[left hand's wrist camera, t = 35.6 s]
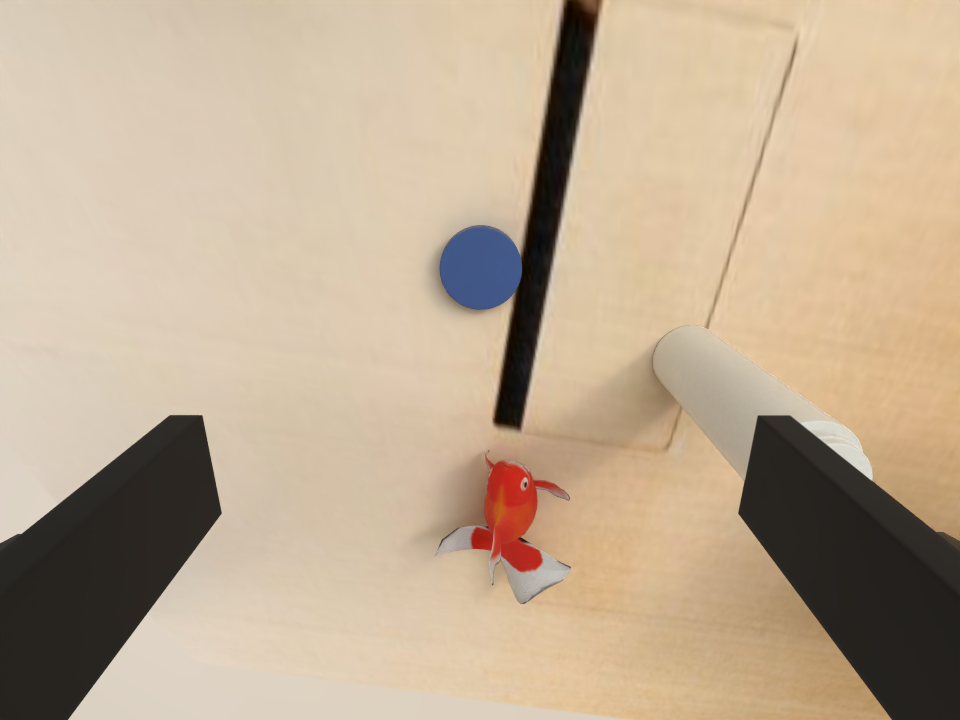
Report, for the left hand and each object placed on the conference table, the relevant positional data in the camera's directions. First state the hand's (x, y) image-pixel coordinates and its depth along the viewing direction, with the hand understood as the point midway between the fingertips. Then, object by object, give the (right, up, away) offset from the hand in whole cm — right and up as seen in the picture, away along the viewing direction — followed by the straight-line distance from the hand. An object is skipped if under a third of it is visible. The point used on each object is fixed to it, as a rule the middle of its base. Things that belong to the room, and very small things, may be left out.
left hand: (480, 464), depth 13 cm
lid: (0, +9, +26) cm, 28 cm away
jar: (+17, +3, +30) cm, 35 cm away
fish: (+3, -11, +35) cm, 37 cm away
